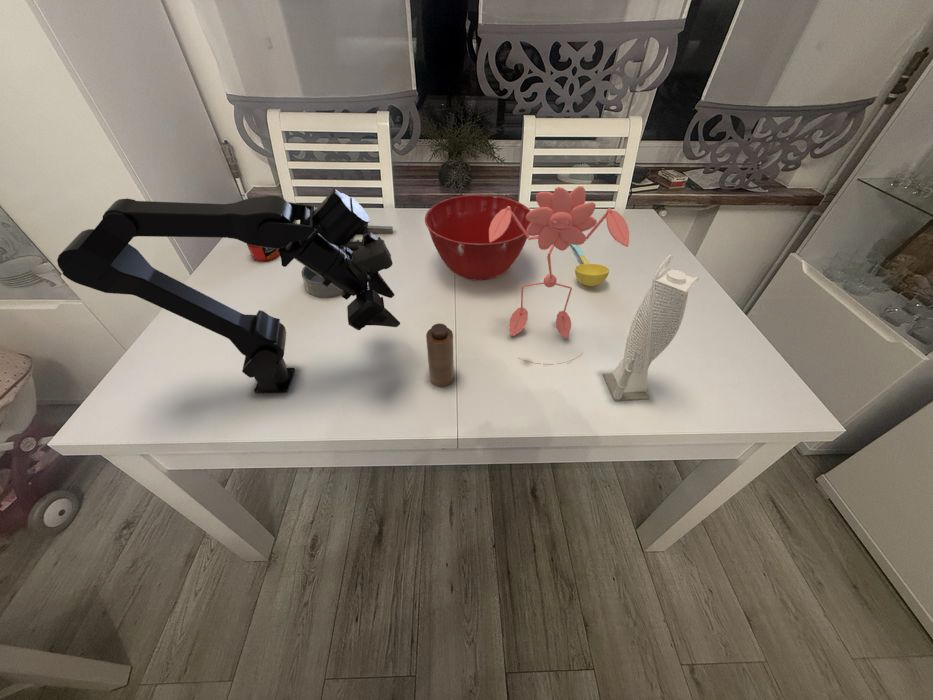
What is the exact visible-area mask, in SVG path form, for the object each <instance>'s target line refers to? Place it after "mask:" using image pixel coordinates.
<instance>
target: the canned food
mask: <svg viewBox="0 0 933 700" xmlns="http://www.w3.org/2000/svg"><path fill="white" fill-rule="evenodd" d="M246 246H247V248H248V250H249V253H250V255H251V257H252V258H253V259H254V260H255V261H257V262H261V263H265V262H271V261H274V260H277V258H278V257H279V256H280V254H279V252H278V249H272V248H265V247H259V246H252V245H249V244H247V243H246Z"/></svg>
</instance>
